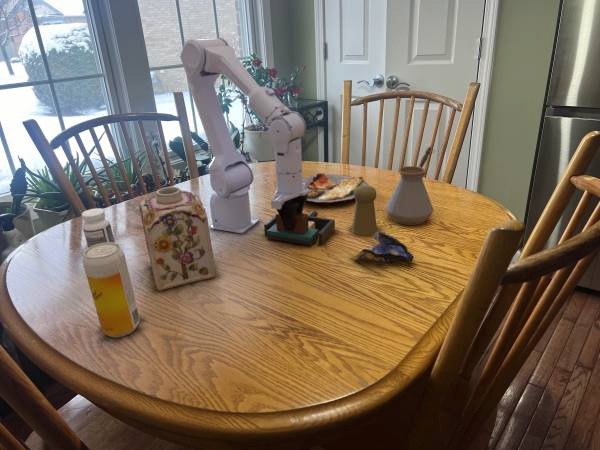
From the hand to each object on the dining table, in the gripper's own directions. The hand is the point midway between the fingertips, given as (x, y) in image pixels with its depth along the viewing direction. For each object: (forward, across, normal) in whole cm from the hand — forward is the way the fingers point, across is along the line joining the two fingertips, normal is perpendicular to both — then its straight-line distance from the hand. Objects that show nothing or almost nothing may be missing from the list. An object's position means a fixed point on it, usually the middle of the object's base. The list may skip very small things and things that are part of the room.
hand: (292, 227), depth 101 cm
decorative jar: (+4, -21, +15) cm, 26 cm away
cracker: (+3, +4, 0) cm, 6 cm away
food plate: (+4, +32, +4) cm, 32 cm away
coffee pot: (+4, +26, -23) cm, 35 cm away
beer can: (+4, -40, +13) cm, 43 cm away
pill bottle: (+4, -20, +39) cm, 44 cm away
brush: (+3, 0, 0) cm, 3 cm away
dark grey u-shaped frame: (+3, +6, 0) cm, 7 cm away
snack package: (+4, -1, -22) cm, 22 cm away
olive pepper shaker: (+4, +11, -14) cm, 18 cm away
